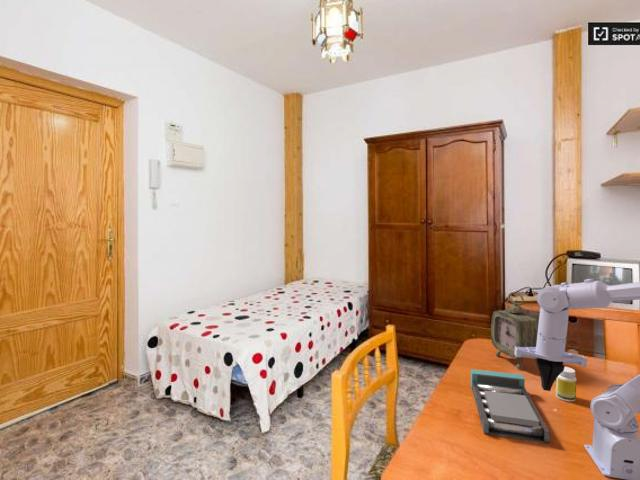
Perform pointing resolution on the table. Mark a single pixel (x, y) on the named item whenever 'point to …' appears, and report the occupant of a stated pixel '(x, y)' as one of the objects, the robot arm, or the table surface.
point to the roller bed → (504, 434)
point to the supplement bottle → (566, 385)
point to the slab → (510, 408)
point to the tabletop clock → (513, 329)
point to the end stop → (497, 378)
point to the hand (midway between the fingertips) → (545, 388)
